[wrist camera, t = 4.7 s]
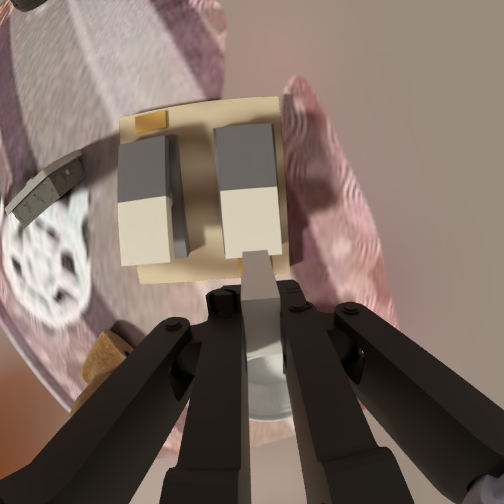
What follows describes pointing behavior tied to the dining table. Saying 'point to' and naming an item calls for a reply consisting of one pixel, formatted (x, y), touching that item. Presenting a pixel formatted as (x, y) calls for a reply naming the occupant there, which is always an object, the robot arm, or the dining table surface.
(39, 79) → the dining table surface
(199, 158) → the switch board
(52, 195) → the electrical switch
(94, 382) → the tan piece
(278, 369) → the ramekin
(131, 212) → the rocker
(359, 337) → the robot arm
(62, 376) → the dining table surface
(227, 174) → the rocker
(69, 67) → the dining table surface
